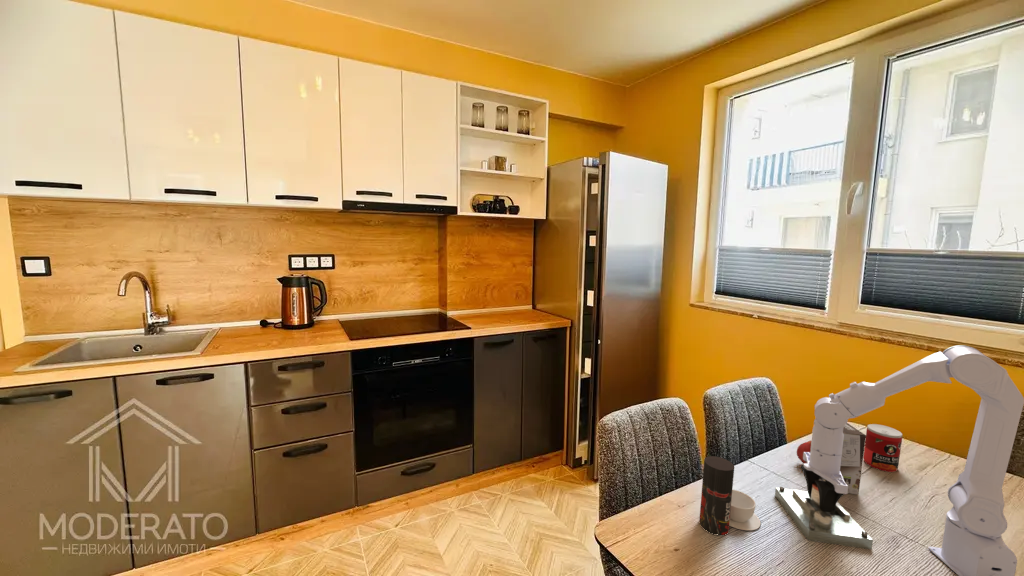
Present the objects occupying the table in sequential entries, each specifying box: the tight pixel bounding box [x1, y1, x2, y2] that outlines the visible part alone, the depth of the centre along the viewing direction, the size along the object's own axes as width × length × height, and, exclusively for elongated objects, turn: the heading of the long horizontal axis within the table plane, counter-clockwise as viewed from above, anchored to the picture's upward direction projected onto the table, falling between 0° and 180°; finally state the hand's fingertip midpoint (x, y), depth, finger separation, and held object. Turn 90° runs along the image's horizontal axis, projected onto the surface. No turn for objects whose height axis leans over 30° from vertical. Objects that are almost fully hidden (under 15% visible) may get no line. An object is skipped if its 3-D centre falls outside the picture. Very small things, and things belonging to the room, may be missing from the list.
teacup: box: [729, 489, 762, 531], centre depth 94 cm, size 10×10×5 cm
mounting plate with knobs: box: [774, 486, 874, 550], centre depth 93 cm, size 16×12×4 cm
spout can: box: [810, 477, 833, 515], centre depth 95 cm, size 4×4×8 cm
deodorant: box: [699, 455, 735, 536], centre depth 90 cm, size 6×6×15 cm
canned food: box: [863, 423, 903, 473], centre depth 118 cm, size 8×8×11 cm
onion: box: [796, 439, 812, 464], centre depth 117 cm, size 6×6×8 cm
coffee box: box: [840, 422, 866, 495], centre depth 108 cm, size 9×6×16 cm
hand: (819, 504), depth 95 cm, fingers closed on spout can, 4 cm apart
